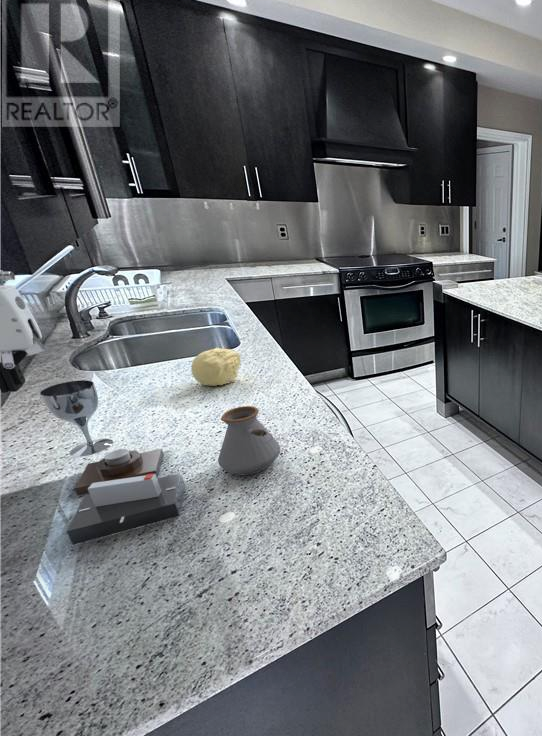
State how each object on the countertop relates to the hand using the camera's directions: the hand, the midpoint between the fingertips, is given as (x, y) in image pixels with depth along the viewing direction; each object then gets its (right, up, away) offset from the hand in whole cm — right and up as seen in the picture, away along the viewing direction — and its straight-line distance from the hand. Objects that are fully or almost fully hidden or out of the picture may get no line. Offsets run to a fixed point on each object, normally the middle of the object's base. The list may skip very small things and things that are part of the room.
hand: (13, 388), depth 68 cm
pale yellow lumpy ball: (-7, -1, +58) cm, 58 cm away
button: (+4, -16, +15) cm, 22 cm away
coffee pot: (+31, -19, +18) cm, 40 cm away
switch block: (+4, -19, +16) cm, 25 cm away
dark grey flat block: (+15, -23, +6) cm, 28 cm away
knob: (+15, -20, +5) cm, 26 cm away
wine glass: (-11, -15, +24) cm, 30 cm away
